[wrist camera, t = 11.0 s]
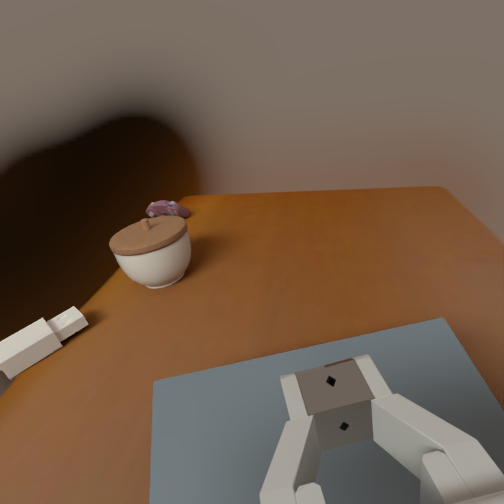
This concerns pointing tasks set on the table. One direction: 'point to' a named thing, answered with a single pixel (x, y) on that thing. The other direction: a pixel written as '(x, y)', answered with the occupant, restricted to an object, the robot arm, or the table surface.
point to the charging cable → (38, 341)
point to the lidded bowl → (153, 250)
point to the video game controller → (167, 209)
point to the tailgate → (276, 414)
